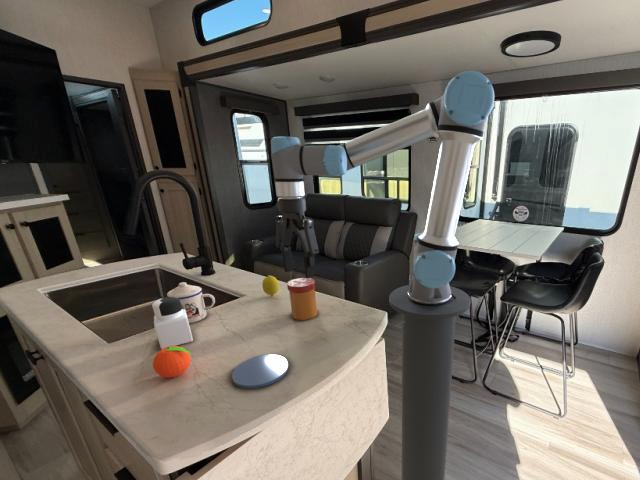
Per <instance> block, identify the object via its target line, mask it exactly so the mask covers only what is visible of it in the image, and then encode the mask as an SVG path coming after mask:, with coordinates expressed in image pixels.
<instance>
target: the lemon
mask: <svg viewBox="0 0 640 480" xmlns="http://www.w3.org/2000/svg"><path fill="white" fill-rule="evenodd" d="M261 284H262V290H263V292H264V293H265V294H266V295H268V296H271V297H274V296H275V295H276V294H277V293H278V292H279V290H280V283H279V280H278V279H277V278H276V277H275V276H273V275H270V274H269V275H267V276H265V277H264V278H263V279H262V283H261Z"/></svg>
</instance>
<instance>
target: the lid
mask: <svg viewBox="0 0 640 480" xmlns="http://www.w3.org/2000/svg"><path fill="white" fill-rule="evenodd" d="M286 284H287V291H288V292H289V291H290V292H294V293H303V292H308V291H311V290H313V289H314V288H316V281H315V279H314V278H312V277H310V278H306V277H300V278H293V279H291V280H288V281H287V283H286Z"/></svg>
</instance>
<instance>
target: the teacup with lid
mask: <svg viewBox="0 0 640 480" xmlns="http://www.w3.org/2000/svg"><path fill="white" fill-rule="evenodd" d="M166 297H176V298H179V299H180V302H181V305H182V309H185V311H186V314H187V318H188V322H189V324H193V323H196V322H200V321H202V320H203V319H205V318H206V317H207V315H208V313H207V310H209V309H212V308H213V307H214V305H215V303H216V298H215V296H214V295H212V294H210V293H203V288H202V287H201V286H197V285H191V284H187V282H185V281H182V282H179V283H178V285H177V287H175V288H172V289H171V290H169V291H168V292H167V294H166ZM204 298H210V299H211V304H210V305H208V306H206V305H205V300H204Z"/></svg>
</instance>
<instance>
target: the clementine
mask: <svg viewBox="0 0 640 480" xmlns="http://www.w3.org/2000/svg"><path fill="white" fill-rule="evenodd" d="M191 356H192V353H191V352H190V351H189V350H188V349H186V348H184V347H181V346H180V345H176V346H169V347H166V348H164V349H160V350H159V351H158V352H157V353H156V354H155V356H154V357H153V360H152V367H153V370H154V371H155V373H156V374H157V375H158V376H160V377H163V378H176V377H179V376H181V375H182V374H184V373H185V372H186V371H187V370H188V369H189V368H190V365H191V362H192V361H191Z"/></svg>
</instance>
